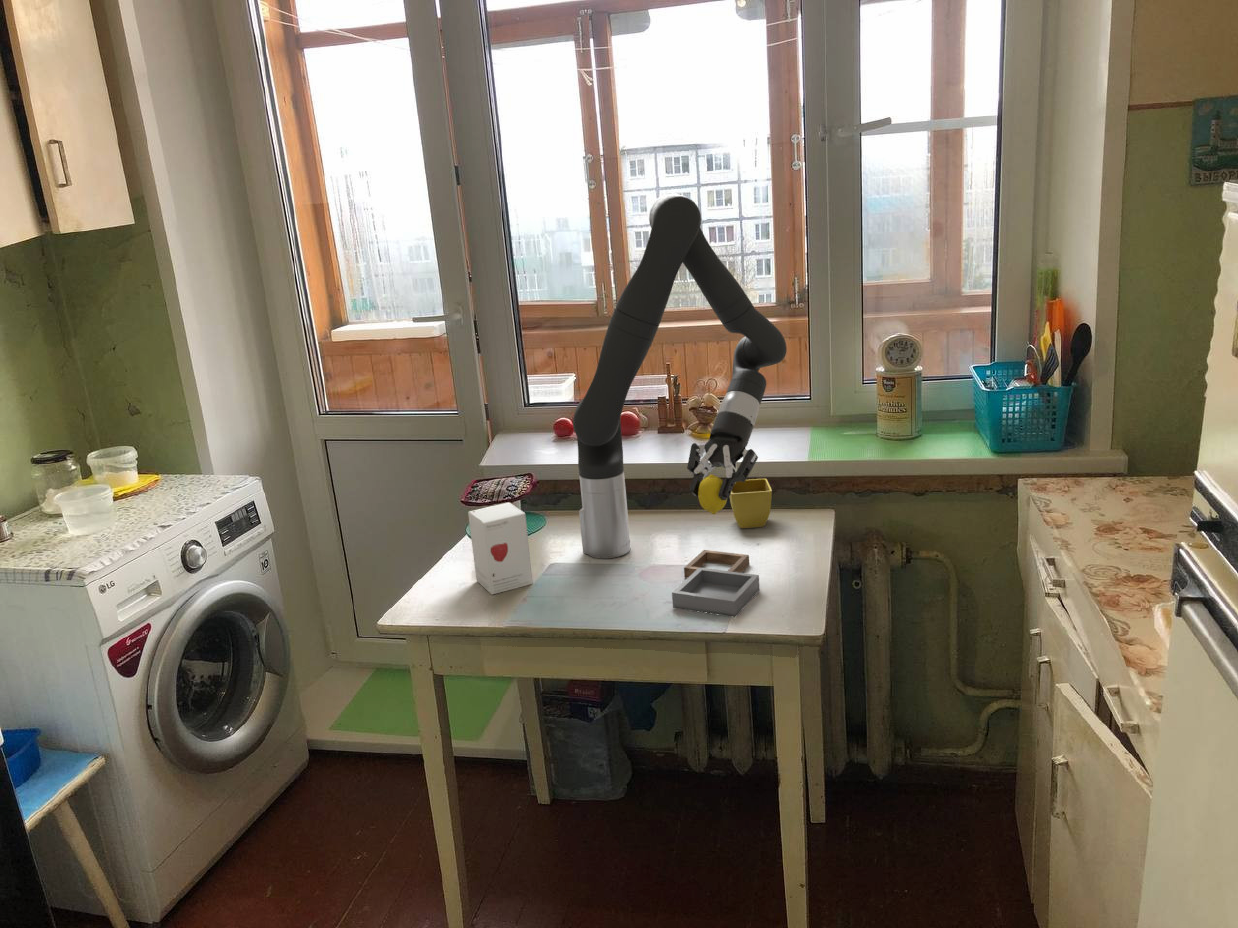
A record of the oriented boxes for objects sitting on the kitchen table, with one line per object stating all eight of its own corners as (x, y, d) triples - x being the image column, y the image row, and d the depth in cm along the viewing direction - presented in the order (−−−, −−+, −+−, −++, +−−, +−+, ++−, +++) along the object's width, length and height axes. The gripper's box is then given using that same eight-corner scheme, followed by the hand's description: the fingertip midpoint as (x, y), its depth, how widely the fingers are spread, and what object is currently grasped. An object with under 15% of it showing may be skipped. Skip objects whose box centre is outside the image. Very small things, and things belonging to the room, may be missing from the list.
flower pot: (773, 530, 206) (772, 490, 204) (733, 533, 207) (731, 493, 204) (768, 516, 215) (766, 478, 212) (729, 519, 215) (727, 481, 213)
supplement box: (491, 596, 185) (481, 523, 181) (475, 581, 193) (466, 511, 189) (534, 584, 189) (526, 512, 185) (517, 570, 197) (509, 500, 193)
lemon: (727, 519, 181) (724, 478, 179) (697, 519, 183) (695, 479, 180) (729, 509, 187) (727, 469, 184) (701, 509, 188) (698, 470, 185)
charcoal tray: (673, 607, 173) (671, 592, 172) (700, 582, 183) (699, 567, 182) (735, 617, 168) (734, 601, 167) (759, 590, 178) (758, 575, 177)
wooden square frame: (684, 577, 186) (683, 567, 186) (704, 559, 194) (703, 549, 193) (730, 583, 181) (730, 573, 181) (749, 564, 189) (748, 554, 189)
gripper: (696, 407, 189) (667, 482, 183) (761, 412, 181) (733, 491, 175) (711, 426, 195) (683, 500, 189) (775, 432, 186) (748, 510, 181)
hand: (708, 496), depth 182 cm, fingers closed on lemon, 5 cm apart
